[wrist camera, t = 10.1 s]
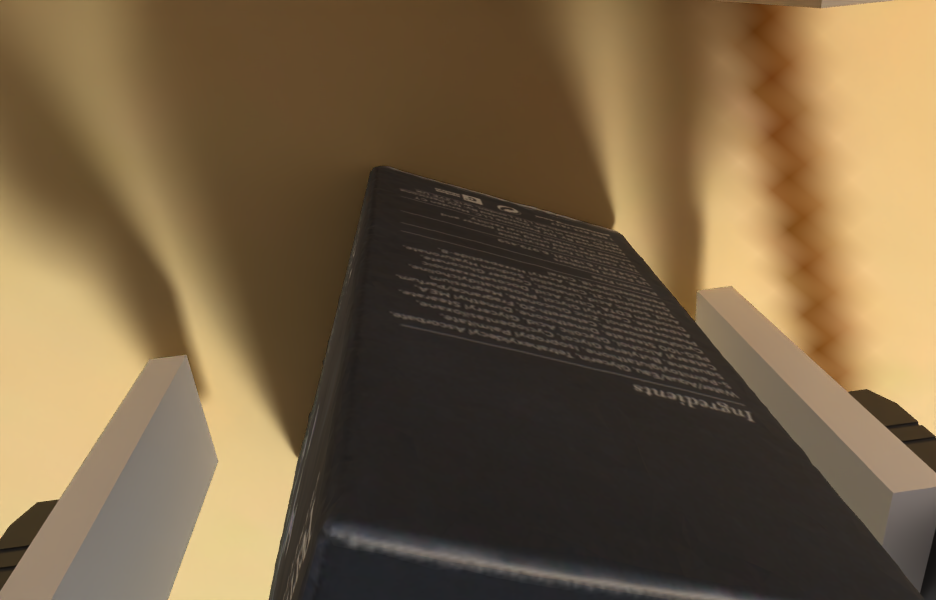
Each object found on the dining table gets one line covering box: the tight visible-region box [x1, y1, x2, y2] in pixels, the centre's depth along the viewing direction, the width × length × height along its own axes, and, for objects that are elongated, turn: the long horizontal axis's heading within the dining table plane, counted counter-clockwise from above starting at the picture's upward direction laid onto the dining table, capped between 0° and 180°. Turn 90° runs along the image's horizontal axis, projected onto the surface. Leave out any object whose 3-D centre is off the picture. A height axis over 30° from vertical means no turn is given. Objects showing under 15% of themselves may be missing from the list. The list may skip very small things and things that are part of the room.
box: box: [269, 166, 925, 600], centre depth 11 cm, size 8×6×11 cm
